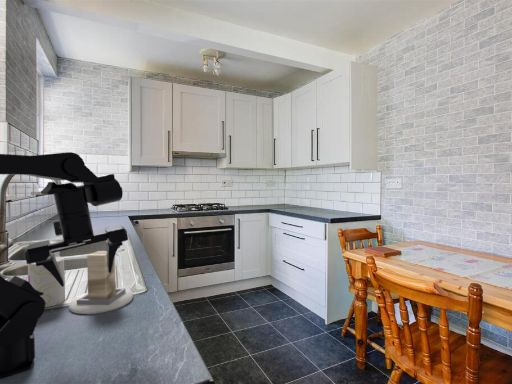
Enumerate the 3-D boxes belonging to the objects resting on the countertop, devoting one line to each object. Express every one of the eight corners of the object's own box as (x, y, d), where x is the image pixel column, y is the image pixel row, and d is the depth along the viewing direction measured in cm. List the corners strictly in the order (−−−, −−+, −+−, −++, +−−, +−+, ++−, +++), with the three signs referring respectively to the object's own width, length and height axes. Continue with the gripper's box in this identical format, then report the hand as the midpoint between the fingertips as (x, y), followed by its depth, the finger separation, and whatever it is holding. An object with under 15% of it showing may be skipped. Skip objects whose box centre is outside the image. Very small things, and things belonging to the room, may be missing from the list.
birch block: (105, 301, 81) (104, 255, 80) (88, 301, 81) (87, 255, 81) (115, 295, 86) (114, 251, 85) (99, 294, 86) (98, 251, 86)
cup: (24, 309, 78) (23, 265, 78) (38, 298, 86) (37, 257, 86) (59, 305, 81) (57, 263, 80) (69, 295, 88) (68, 255, 88)
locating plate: (114, 314, 75) (114, 301, 75) (54, 313, 76) (54, 300, 76) (142, 291, 91) (141, 280, 91) (92, 290, 92) (92, 279, 92)
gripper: (115, 199, 74) (125, 257, 77) (23, 214, 64) (38, 280, 67) (122, 205, 65) (133, 270, 68) (16, 223, 55) (34, 299, 58)
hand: (87, 278), depth 65 cm, fingers open, 9 cm apart
